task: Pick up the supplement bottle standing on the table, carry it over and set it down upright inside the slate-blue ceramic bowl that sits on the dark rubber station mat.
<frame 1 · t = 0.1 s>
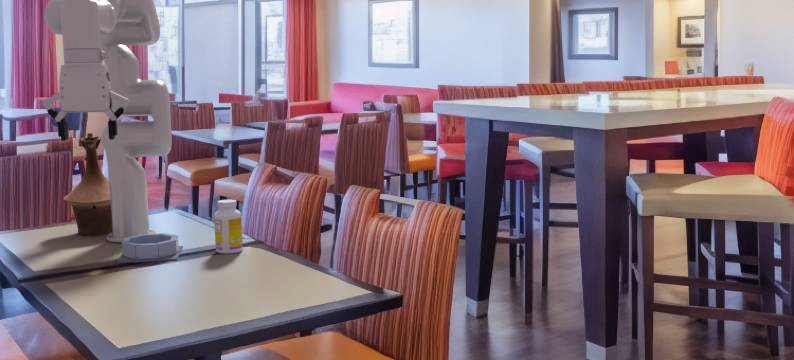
hand: (88, 139, 174), 31 cm above the table, fingers open, 9 cm apart
station mat: (151, 254, 204), on the table
pitcher: (98, 232, 232), on the table
supplement bottle: (229, 252, 207), on the table
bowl: (151, 253, 204), resting on station mat
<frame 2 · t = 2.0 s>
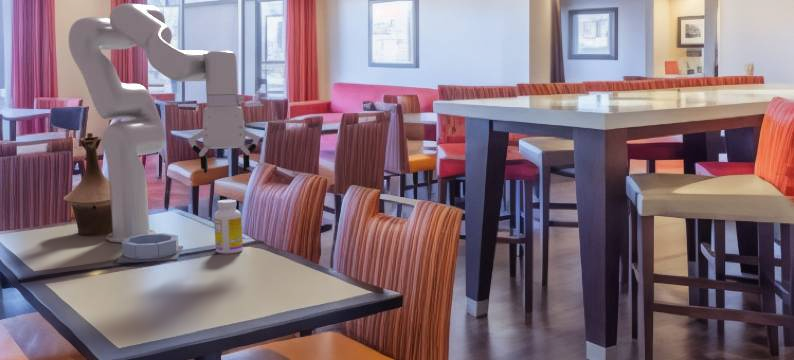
hand: (225, 171, 203), 20 cm above the table, fingers open, 9 cm apart
nothing on the table moved.
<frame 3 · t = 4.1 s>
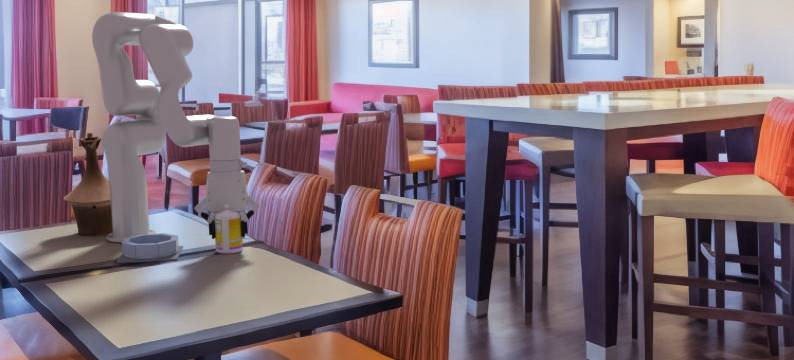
hand: (228, 236, 206), 4 cm above the table, fingers closed on supplement bottle, 6 cm apart
supplement bottle: (229, 252, 207), on the table, touching gripper
everything else where it was.
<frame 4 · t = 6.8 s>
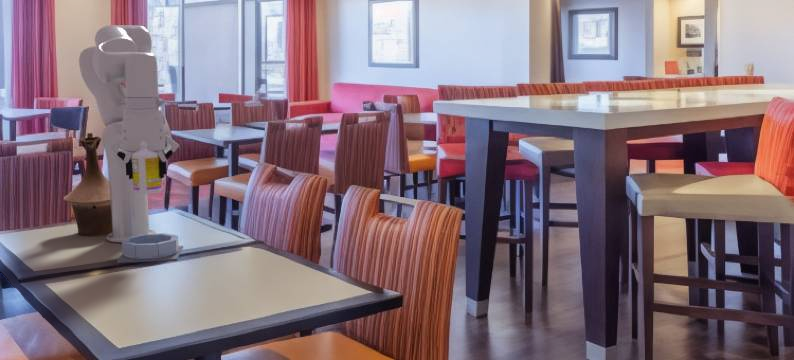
hand: (146, 177, 201), 19 cm above the table, fingers closed on supplement bottle, 6 cm apart
supplement bottle: (147, 193, 201), point 15 cm above the table, touching gripper
everything else where it was.
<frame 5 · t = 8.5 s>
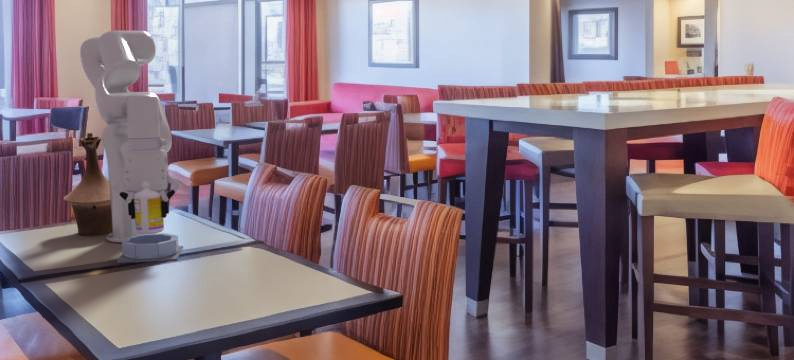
hand: (149, 216, 202), 10 cm above the table, fingers closed on supplement bottle, 6 cm apart
supplement bottle: (150, 232, 203), point 6 cm above the table, touching gripper
everything else where it was.
when the fingers open (6 cm above the table, at t = 9.8 s): supplement bottle stays where it is, resting on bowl.
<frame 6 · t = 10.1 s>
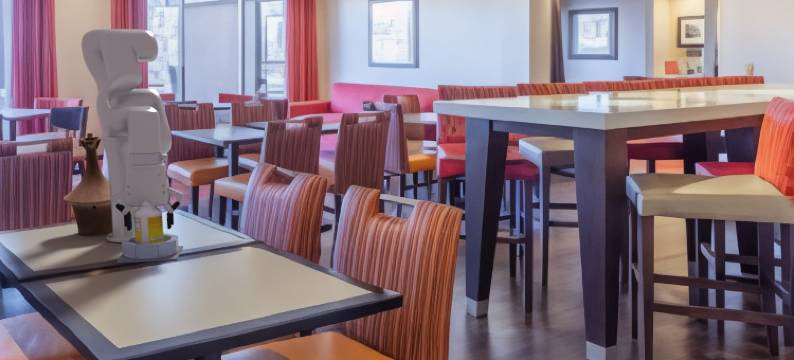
hand: (149, 228, 203), 7 cm above the table, fingers open, 9 cm apart
supplement bottle: (150, 250, 204), point 1 cm above the table, touching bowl
everything else where it was.
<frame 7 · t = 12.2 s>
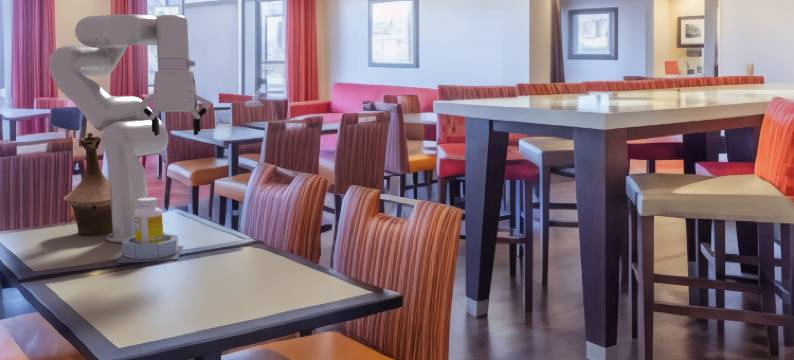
hand: (176, 134, 206), 29 cm above the table, fingers open, 9 cm apart
nothing on the table moved.
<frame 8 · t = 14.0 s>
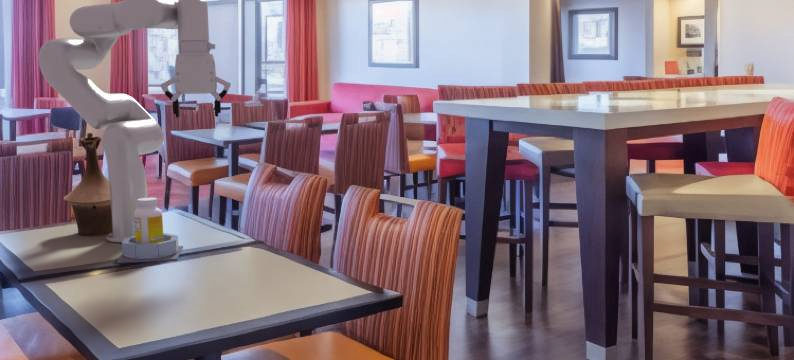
hand: (197, 116, 209), 33 cm above the table, fingers open, 9 cm apart
nothing on the table moved.
at the end: supplement bottle 0.2 cm from the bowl (horizontally); supplement bottle tilted 0°; the gripper is holding nothing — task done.
